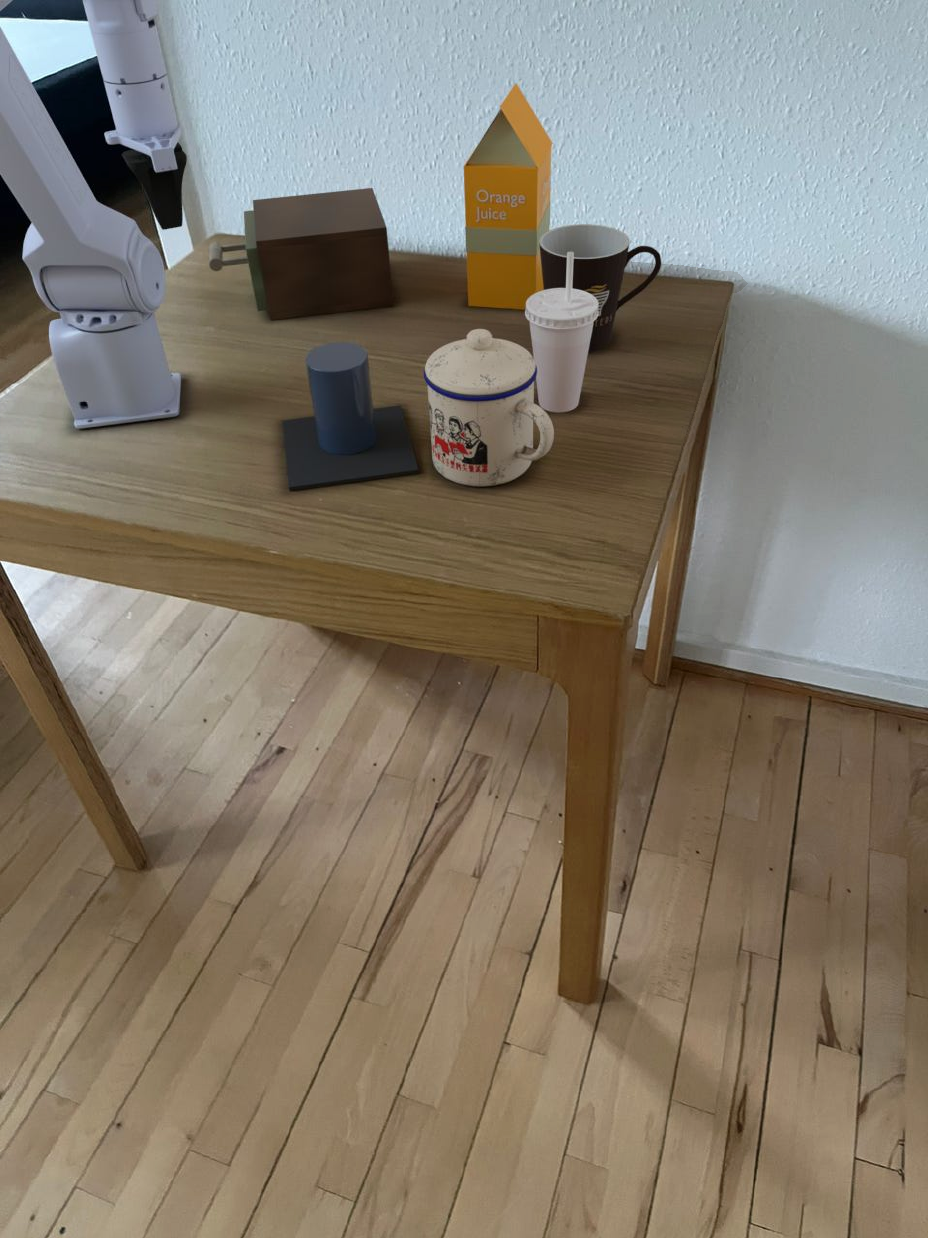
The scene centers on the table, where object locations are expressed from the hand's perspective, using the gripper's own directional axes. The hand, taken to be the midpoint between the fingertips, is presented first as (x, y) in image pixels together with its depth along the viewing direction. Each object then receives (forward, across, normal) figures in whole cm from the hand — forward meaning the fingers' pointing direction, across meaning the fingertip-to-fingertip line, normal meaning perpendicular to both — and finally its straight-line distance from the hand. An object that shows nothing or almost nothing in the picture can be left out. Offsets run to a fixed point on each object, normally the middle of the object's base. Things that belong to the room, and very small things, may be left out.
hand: (171, 225), depth 97 cm
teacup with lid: (+11, +40, +17) cm, 45 cm away
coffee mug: (+11, +24, +36) cm, 45 cm away
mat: (+10, +32, +7) cm, 34 cm away
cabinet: (+10, -1, +16) cm, 19 cm away
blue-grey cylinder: (+10, +31, +7) cm, 33 cm away
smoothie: (+11, +33, +27) cm, 44 cm away
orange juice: (+11, +9, +34) cm, 37 cm away
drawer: (+10, -2, +12) cm, 15 cm away
